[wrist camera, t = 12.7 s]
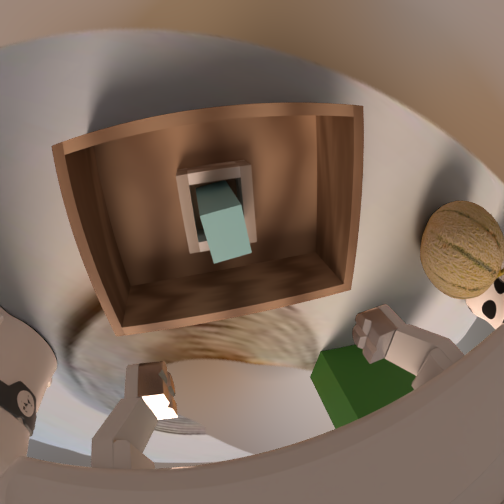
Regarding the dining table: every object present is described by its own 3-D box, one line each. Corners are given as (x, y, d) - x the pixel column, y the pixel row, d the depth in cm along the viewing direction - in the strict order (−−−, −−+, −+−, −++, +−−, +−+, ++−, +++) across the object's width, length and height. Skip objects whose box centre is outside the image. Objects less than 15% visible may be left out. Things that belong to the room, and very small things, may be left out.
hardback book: (393, 335, 48) (459, 420, 28) (380, 359, 52) (436, 441, 31) (320, 351, 44) (385, 468, 23) (310, 376, 47) (362, 483, 27)
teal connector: (205, 224, 28) (214, 263, 21) (195, 188, 26) (199, 216, 19) (233, 216, 28) (251, 252, 21) (225, 179, 26) (241, 204, 19)
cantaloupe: (400, 205, 34) (481, 255, 21) (457, 177, 34) (528, 211, 21) (402, 282, 41) (458, 338, 28) (454, 248, 42) (508, 289, 29)
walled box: (126, 289, 30) (116, 336, 23) (86, 136, 21) (51, 146, 14) (319, 253, 34) (350, 289, 27) (319, 105, 25) (363, 105, 18)
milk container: (473, 304, 56) (512, 342, 41) (450, 301, 50) (498, 348, 35) (501, 251, 50) (545, 284, 34) (484, 236, 44) (540, 276, 28)
